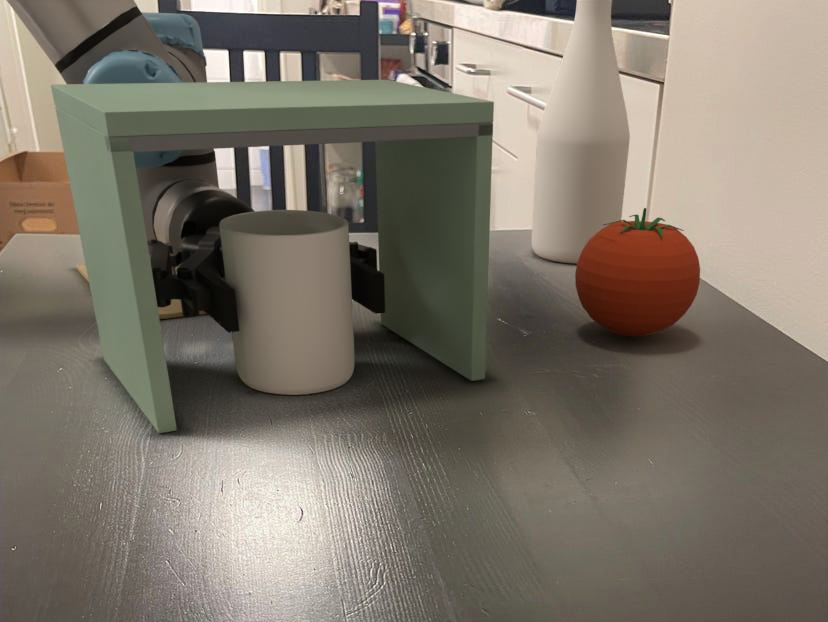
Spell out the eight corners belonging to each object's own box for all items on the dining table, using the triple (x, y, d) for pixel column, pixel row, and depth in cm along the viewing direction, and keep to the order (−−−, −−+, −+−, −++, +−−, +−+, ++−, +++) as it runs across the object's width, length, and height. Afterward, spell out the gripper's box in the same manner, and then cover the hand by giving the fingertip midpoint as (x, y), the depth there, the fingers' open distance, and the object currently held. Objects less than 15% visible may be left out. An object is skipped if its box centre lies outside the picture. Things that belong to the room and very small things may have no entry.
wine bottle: (543, 266, 101) (565, -92, 84) (521, 246, 109) (538, -86, 92) (629, 264, 103) (668, -86, 86) (602, 244, 111) (633, -81, 94)
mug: (334, 341, 78) (326, 198, 72) (366, 391, 69) (360, 232, 63) (226, 349, 76) (208, 202, 70) (244, 402, 67) (226, 238, 61)
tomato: (597, 357, 77) (610, 223, 71) (553, 320, 85) (562, 198, 80) (712, 349, 80) (734, 219, 74) (659, 314, 88) (674, 195, 82)
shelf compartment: (158, 434, 62) (104, 111, 52) (104, 360, 73) (50, 84, 63) (485, 379, 72) (494, 101, 62) (393, 322, 83) (387, 79, 73)
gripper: (338, 269, 89) (452, 336, 73) (81, 296, 79) (150, 379, 64) (333, 180, 85) (454, 231, 69) (62, 197, 75) (130, 260, 59)
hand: (308, 302), depth 66 cm, fingers open, 10 cm apart
